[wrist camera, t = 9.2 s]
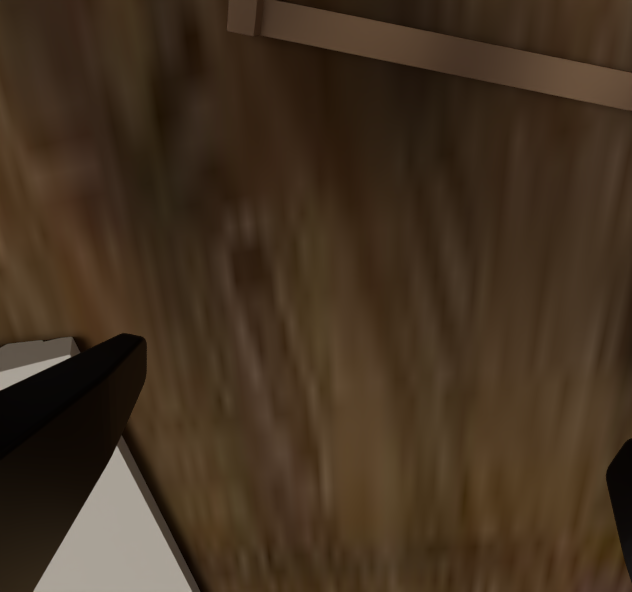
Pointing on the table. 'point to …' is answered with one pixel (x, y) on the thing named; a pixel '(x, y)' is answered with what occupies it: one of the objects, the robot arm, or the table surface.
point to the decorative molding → (105, 511)
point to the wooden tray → (431, 51)
